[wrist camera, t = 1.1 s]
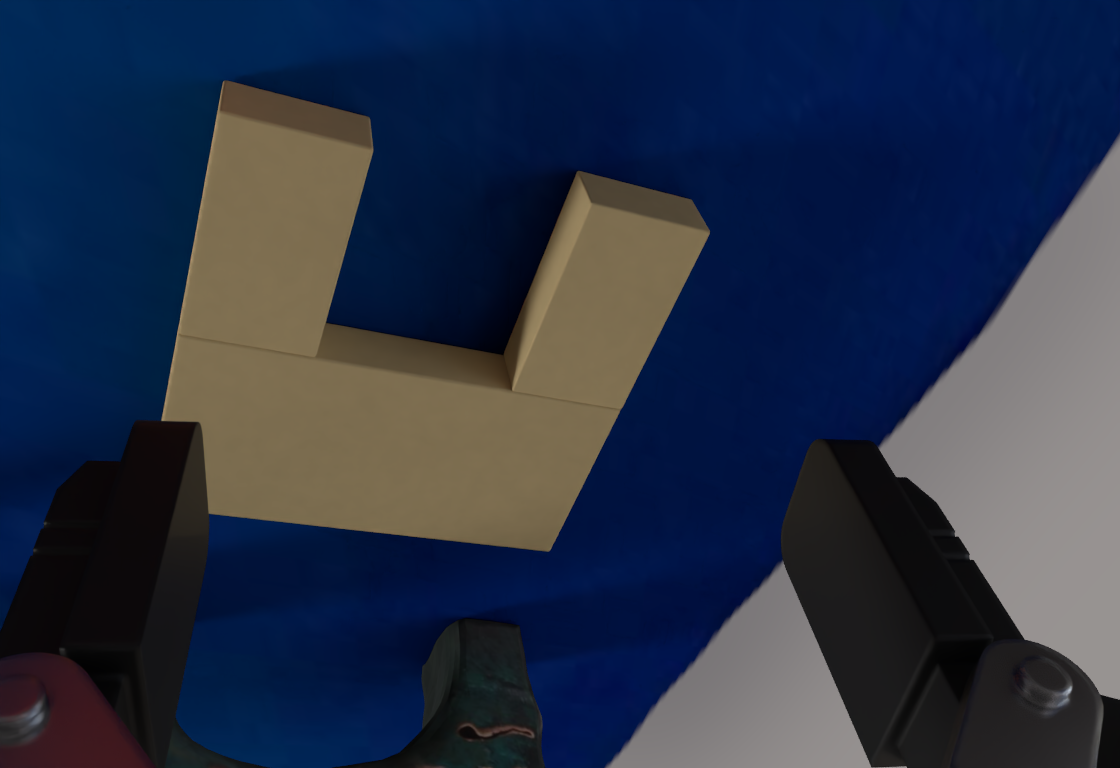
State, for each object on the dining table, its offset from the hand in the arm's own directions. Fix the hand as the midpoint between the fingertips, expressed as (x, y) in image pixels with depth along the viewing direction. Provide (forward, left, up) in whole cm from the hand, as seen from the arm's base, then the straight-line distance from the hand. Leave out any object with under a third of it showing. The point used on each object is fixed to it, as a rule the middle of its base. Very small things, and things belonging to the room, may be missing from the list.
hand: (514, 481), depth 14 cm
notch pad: (+3, -10, -17) cm, 20 cm away
